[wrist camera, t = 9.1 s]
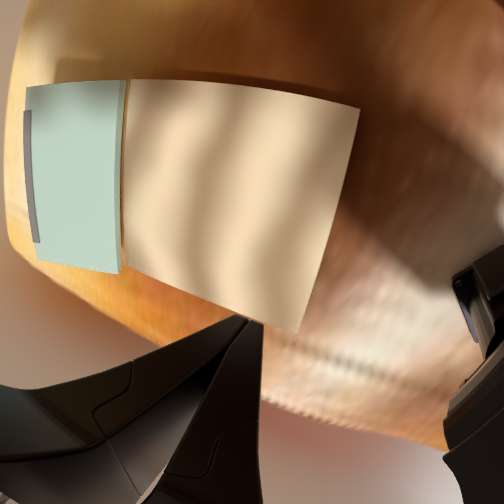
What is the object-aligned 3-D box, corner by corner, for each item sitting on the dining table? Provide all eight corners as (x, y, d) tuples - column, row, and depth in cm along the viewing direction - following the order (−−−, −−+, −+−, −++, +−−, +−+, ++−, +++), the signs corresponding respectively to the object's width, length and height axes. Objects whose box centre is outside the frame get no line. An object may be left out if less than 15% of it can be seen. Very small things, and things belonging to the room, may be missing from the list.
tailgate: (119, 79, 17) (25, 87, 17) (117, 275, 25) (36, 260, 24) (127, 80, 19) (35, 86, 18) (123, 266, 26) (44, 252, 26)
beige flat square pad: (360, 109, 16) (360, 109, 15) (301, 322, 24) (296, 334, 22) (143, 79, 20) (130, 79, 19) (135, 258, 28) (125, 265, 26)
